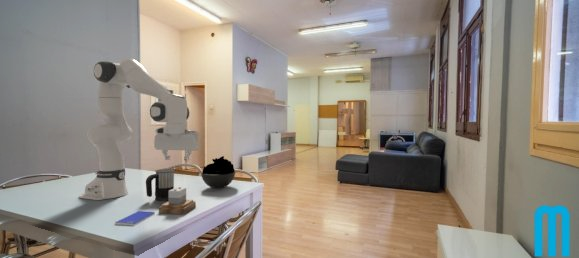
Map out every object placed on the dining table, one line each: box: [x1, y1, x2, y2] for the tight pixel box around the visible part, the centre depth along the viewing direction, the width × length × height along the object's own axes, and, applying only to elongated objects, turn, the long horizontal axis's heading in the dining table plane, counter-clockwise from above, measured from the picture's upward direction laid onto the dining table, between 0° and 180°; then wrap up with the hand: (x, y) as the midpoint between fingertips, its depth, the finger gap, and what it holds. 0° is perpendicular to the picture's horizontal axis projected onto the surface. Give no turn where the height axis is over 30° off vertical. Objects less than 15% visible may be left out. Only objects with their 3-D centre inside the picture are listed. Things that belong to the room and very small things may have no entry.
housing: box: [169, 186, 187, 205], centre depth 115 cm, size 6×5×6 cm
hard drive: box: [114, 210, 155, 227], centre depth 105 cm, size 2×8×12 cm
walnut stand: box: [158, 199, 196, 215], centre depth 115 cm, size 12×10×4 cm
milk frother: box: [145, 168, 175, 202], centre depth 130 cm, size 14×16×15 cm
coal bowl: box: [200, 155, 236, 190], centre depth 154 cm, size 20×20×19 cm
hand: (176, 160), depth 115 cm, fingers open, 8 cm apart
